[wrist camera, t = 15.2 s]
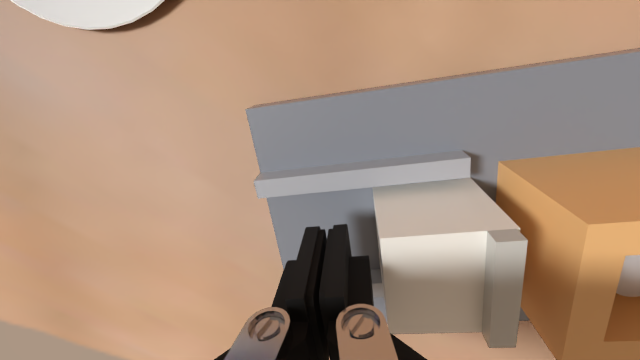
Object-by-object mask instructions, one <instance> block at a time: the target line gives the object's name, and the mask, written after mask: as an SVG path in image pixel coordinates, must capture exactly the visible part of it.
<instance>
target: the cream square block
mask: <svg viewBox="0 0 640 360" xmlns="http://www.w3.org/2000/svg"><path fill="white" fill-rule="evenodd" d="M372 188H373V198H374V209H375V219H376V229H377V239H378V249H379V260H380V268H381V276H382V284H383V292H384V300H385V308H386V315H387V323H388V329H389V332H390V333H391V334H425V333H468V332H482V334H483V336H484V338H485V340H486V342H487V345H488V347H489V348H512V347H516V342H517V334H518V325H519V316H520V307H521V298H522V289H523V280H524V271H525V262H526V253H527V244H528V240H527V239H526V238H525V237H524V236H523V235H522V234H521V233H520V227H519V226H518V225H517V224H516V223H515V222H514V221H513V220H512V219H511V218H510V217H509V216H508V215H507V214H506V213H505V212H504V211H503V210H502V209H501V208H500V207H499V206H498V205H497V204H496V203H495V202H494V201H493V200H492V199H491V198H490V197H489V196H488V195H487V194H486V193H485V192H484V191H483V190H482V189H481V188H480V187H479V186H478V185H477V184H476V183H475V182H474V181H473V180H472V179H471V178H463V179H453V180H443V181H433V182H423V183H412V184H402V185H392V186H382V187H372Z"/></svg>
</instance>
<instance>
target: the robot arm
mask: <svg viewBox="0 0 640 360" xmlns="http://www.w3.org/2000/svg"><path fill="white" fill-rule="evenodd" d="M329 357H330V360H427V359H425V358H424V357H423V356H421V355H420V354H419V353H417V352H416V351H414V350H413V349H412V348H410V347H409V346H408V345H406V344H405V343H403V342H402V341H401V340H399V339H398V338H396V337H395V336H394V335H392V334H391V333H390V332H389V329H388V326H387V322H386V319H385V317H384V315H383V313H382V312H381V311H380V310H379V309H377V308H376V307H374V301H373V289H372V279H371V269H370V260H369V255H367V256H352V254H351V247H350V239H349V232H348V225H347V224H340V225H333V229H328V236H327V237H326V231H325V229H320V226H314V227H306V228H305V231H304V235H303V238H302V242H301V245H300V249H299V252H298V256H297V259H296V260H288V261H287V263H286V265H285V268H284V271H283V274H282V277H281V280H280V283H279V286H278V289H277V292H276V295H275V298H274V301H273V304H272V307H268V308H265V309H262V310H260V311H258V312H256V313H255V314H253V315H252V316H251V317H250V318H249V319H248V320H247V322H246V323H245V325H244V326H243V328H242V330H241V332H240V333H239V335H238V337H237V338H236V340H235V342H234V344H233V345H232V347H231V348H230V349H229V350H227V351H226V352H225V353H223V354H222V355H220V356H219V357H217V358H216V359H214V360H329Z"/></svg>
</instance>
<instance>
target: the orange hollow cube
mask: <svg viewBox="0 0 640 360" xmlns="http://www.w3.org/2000/svg"><path fill="white" fill-rule="evenodd" d="M496 204H497V205H498V206H499V207H500V208H501V209H502V210H503V211H504V212H505V213H506V214H507V215H508V216H509V217H510V218H511V219H512V220H513V221H514V222H515V223H516V224H517V225H518V226H519V227H520V233H521V234H522V235H523V236H524V237H525V238H526V239H527V240H528V244H527V253H526V262H525V271H524V280H523V289H522V298H521V308H522V309H523V311H524V312H525V314H526V315H527V317H528V318H529V320H530V321H531V323H532V324H533V326H534V327H535V329H536V330H537V332H538V333H539V335H540V336H541V338H542V339H543V341H544V342H545V344H546V345H547V346H548V348H549V349H550V351H551V352H552V354H553V355H554V357H555V358H556V360H640V296H638V297H627V296H622V295H619V294H617V293H616V291H617V287H618V283H619V279H620V275H621V272H622V268H623V264H624V260H625V256H629V255H640V147H635V148H626V149H616V150H606V151H596V152H586V153H576V154H566V155H557V156H547V157H537V158H527V159H517V160H507V161H498V176H497V191H496Z"/></svg>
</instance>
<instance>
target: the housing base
mask: <svg viewBox="0 0 640 360" xmlns="http://www.w3.org/2000/svg"><path fill="white" fill-rule="evenodd" d="M246 114H247V118H248V122H249V126H250V130H251V135H252V139H253V143H254V147H255V151H256V156H257V160H258V164H259V168H260V172H261V173H260V174H259V175H258V176H257V178H256V179H255V180H254V185H255V189H256V193H257V197H258V198H267V202H268V206H269V210H270V214H271V218H272V223H273V227H274V231H275V235H276V239H277V244H278V248H279V252H280V256H281V260H282V265H283V269H284V268H285V265H286V263H287V261H288V260H296V259H297V256H298V252H299V249H300V245H301V242H302V238H303V235H304V231H305V228H306V227H314V226H320V229H325V231H326V237H327V236H328V229H333V225H340V224H347V225H348V232H349V239H350V247H351V254H352V256H367V255H369V260H370V269H371V279H372V289H373V301H374V307H376V308H377V309H379V310H380V311H381V312H382V313H383V315H384V317H385V319H386V322H387V315H386V308H385V300H384V292H383V284H382V276H381V268H380V260H379V249H378V239H377V229H376V219H375V209H374V198H373V188H372V187H382V186H392V185H402V184H412V183H423V182H433V181H443V180H453V179H463V178H471V179H472V180H473V181H474V182H475V183H476V184H477V185H478V186H479V187H480V188H481V189H482V190H483V191H484V192H485V193H486V194H487V195H488V196H489V197H490V198H491V199H492V200H493V201H494V202H495V203H496V191H497V176H498V161H507V160H517V159H527V158H537V157H547V156H557V155H566V154H576V153H586V152H596V151H606V150H616V149H626V148H635V147H640V48H637V49H630V50H624V51H617V52H610V53H603V54H597V55H590V56H583V57H577V58H570V59H563V60H556V61H550V62H543V63H536V64H529V65H523V66H516V67H509V68H503V69H496V70H489V71H482V72H476V73H469V74H462V75H455V76H449V77H442V78H435V79H429V80H422V81H415V82H408V83H402V84H395V85H388V86H381V87H375V88H368V89H361V90H355V91H348V92H341V93H334V94H328V95H321V96H314V97H308V98H301V99H294V100H287V101H281V102H274V103H267V104H260V105H254V106H252V107H250V108H248V109H246ZM616 293H617V294H619V295H622V296H627V297H638V296H640V255H629V256H625V260H624V264H623V268H622V272H621V275H620V279H619V283H618V287H617V291H616ZM528 320H529V318H528V317H527V315H526V314H525V312H524V311H523V309H522V308H521V307H520V316H519V321H528ZM387 324H388V323H387Z"/></svg>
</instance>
